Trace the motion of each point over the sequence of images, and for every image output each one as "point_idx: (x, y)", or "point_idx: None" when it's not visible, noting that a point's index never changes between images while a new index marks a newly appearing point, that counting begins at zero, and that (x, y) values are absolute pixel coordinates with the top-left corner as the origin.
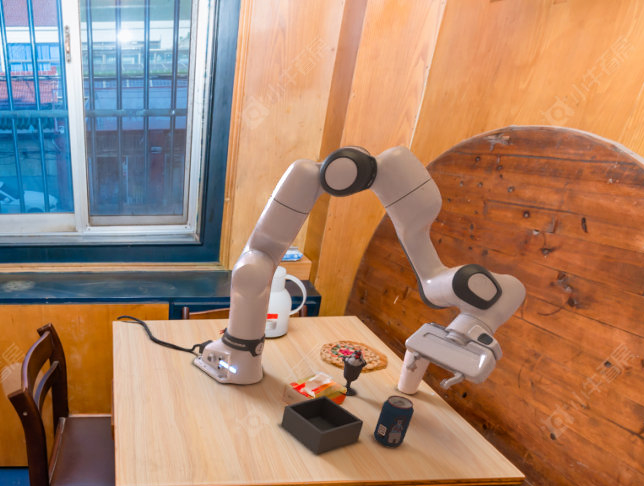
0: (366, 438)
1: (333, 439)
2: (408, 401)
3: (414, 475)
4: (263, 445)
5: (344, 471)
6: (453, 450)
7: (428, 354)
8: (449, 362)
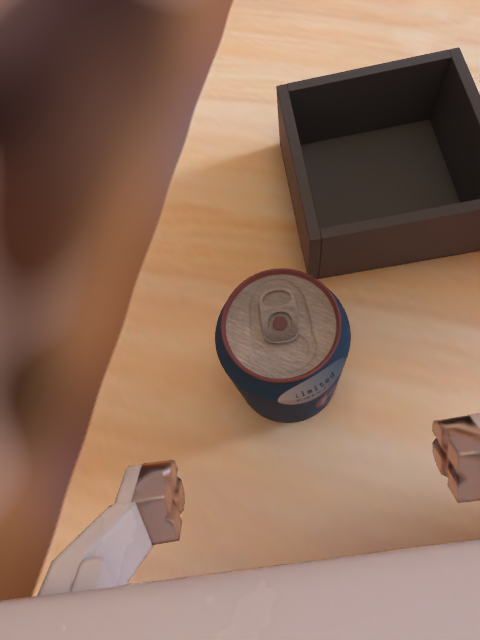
0: None
1: (287, 158)
2: (279, 374)
3: (120, 339)
4: (349, 45)
5: (198, 174)
6: None
7: (466, 548)
8: (186, 600)
